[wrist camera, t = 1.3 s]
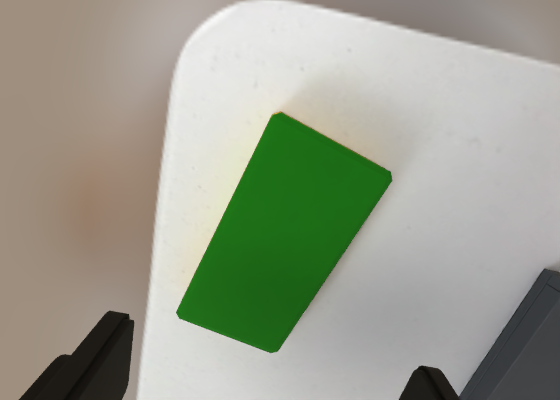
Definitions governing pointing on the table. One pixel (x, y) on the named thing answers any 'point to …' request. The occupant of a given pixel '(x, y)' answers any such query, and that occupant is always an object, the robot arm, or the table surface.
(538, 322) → the tray
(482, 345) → the table surface
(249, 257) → the dish sponge
